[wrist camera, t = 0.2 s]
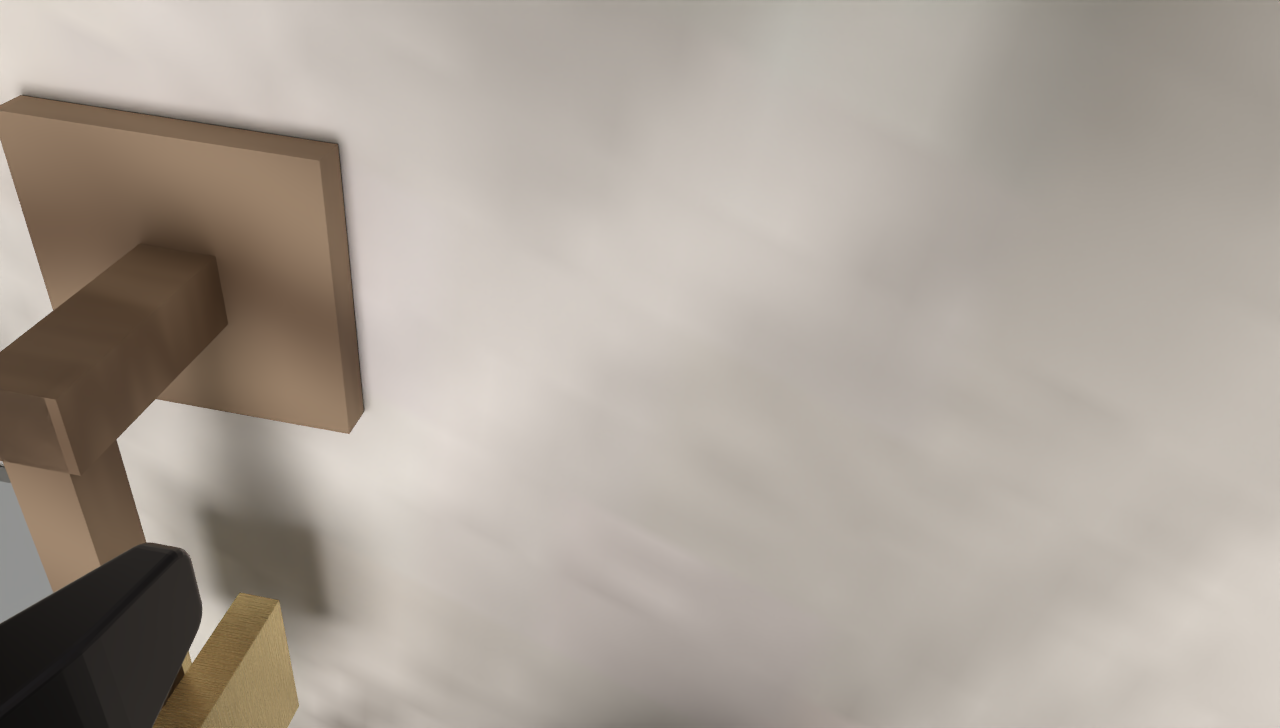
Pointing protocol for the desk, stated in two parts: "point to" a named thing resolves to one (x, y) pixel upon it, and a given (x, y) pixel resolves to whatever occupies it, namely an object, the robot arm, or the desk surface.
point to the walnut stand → (164, 303)
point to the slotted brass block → (237, 673)
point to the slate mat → (17, 557)
